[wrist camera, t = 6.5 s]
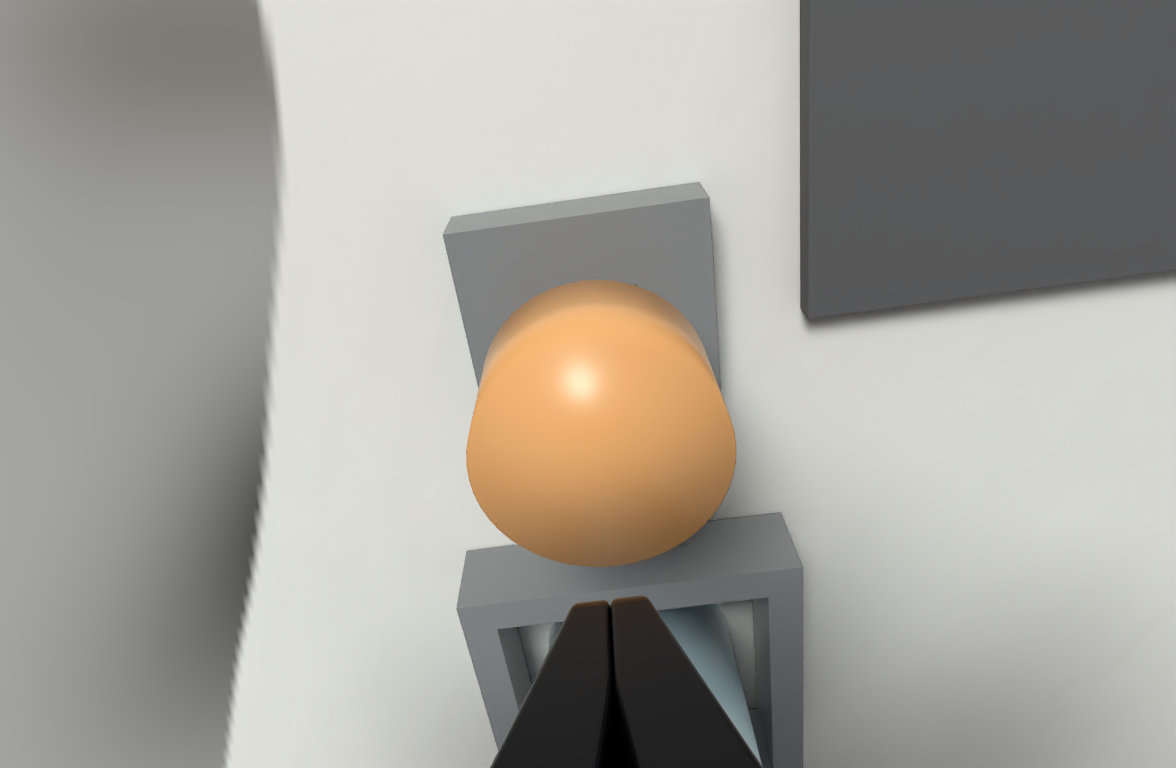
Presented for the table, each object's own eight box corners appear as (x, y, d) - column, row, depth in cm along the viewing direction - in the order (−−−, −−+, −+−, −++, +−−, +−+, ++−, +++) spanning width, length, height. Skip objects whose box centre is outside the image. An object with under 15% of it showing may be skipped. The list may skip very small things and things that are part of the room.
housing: (787, 882, 27) (802, 946, 25) (563, 905, 27) (563, 969, 25) (774, 171, 15) (802, 196, 13) (378, 227, 15) (353, 259, 13)
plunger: (705, 432, 15) (741, 550, 12) (509, 456, 15) (494, 580, 12) (691, 241, 13) (730, 323, 10) (468, 272, 14) (438, 361, 10)
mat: (1228, 250, 16) (1251, 259, 15) (800, 307, 16) (808, 318, 16) (1382, -306, 12) (1421, -319, 11) (799, -212, 12) (810, -220, 12)
